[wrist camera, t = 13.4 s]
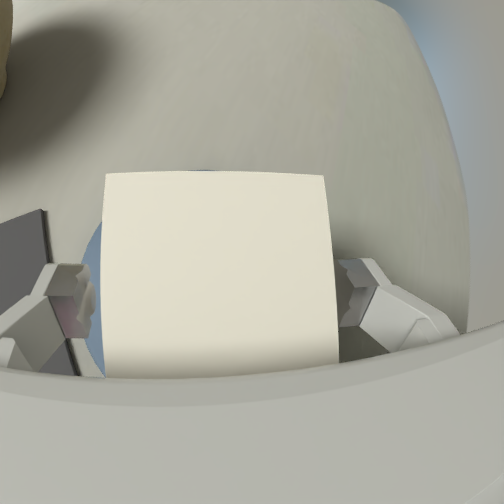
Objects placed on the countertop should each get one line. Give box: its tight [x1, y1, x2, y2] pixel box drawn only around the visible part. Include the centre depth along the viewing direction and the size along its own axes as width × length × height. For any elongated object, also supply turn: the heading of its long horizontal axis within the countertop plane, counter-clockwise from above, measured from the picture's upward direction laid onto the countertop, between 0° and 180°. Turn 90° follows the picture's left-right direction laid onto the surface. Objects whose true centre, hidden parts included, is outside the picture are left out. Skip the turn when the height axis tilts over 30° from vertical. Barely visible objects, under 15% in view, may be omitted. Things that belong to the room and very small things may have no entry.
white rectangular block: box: [100, 171, 339, 379], centre depth 12 cm, size 6×6×8 cm
